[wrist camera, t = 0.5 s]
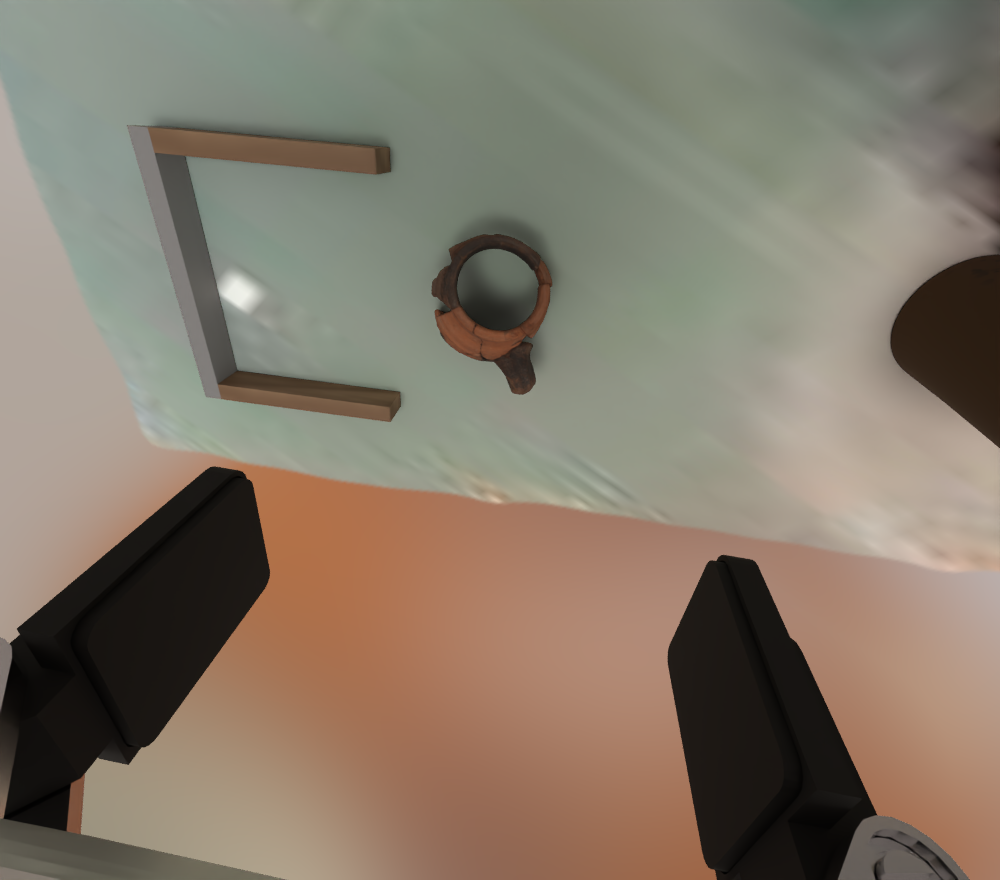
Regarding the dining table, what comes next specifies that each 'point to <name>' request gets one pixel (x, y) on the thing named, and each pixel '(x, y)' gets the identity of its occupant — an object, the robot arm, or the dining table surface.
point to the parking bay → (193, 271)
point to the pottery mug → (479, 339)
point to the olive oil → (956, 340)
